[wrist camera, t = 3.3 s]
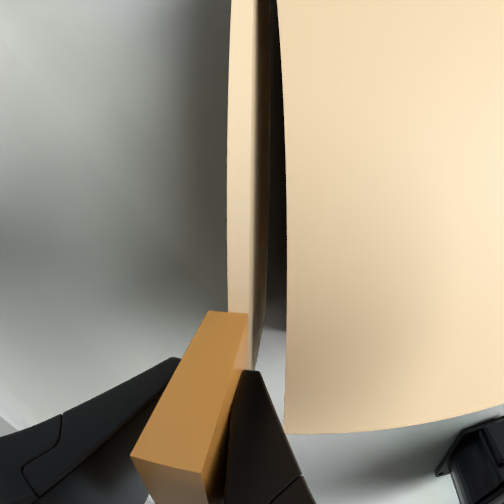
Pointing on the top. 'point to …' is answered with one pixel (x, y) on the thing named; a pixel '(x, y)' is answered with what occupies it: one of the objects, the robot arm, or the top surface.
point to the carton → (392, 211)
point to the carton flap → (239, 292)
